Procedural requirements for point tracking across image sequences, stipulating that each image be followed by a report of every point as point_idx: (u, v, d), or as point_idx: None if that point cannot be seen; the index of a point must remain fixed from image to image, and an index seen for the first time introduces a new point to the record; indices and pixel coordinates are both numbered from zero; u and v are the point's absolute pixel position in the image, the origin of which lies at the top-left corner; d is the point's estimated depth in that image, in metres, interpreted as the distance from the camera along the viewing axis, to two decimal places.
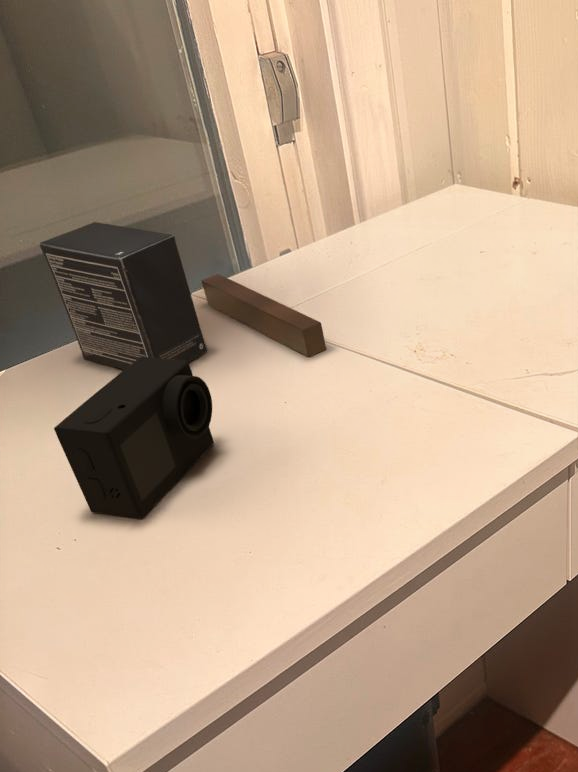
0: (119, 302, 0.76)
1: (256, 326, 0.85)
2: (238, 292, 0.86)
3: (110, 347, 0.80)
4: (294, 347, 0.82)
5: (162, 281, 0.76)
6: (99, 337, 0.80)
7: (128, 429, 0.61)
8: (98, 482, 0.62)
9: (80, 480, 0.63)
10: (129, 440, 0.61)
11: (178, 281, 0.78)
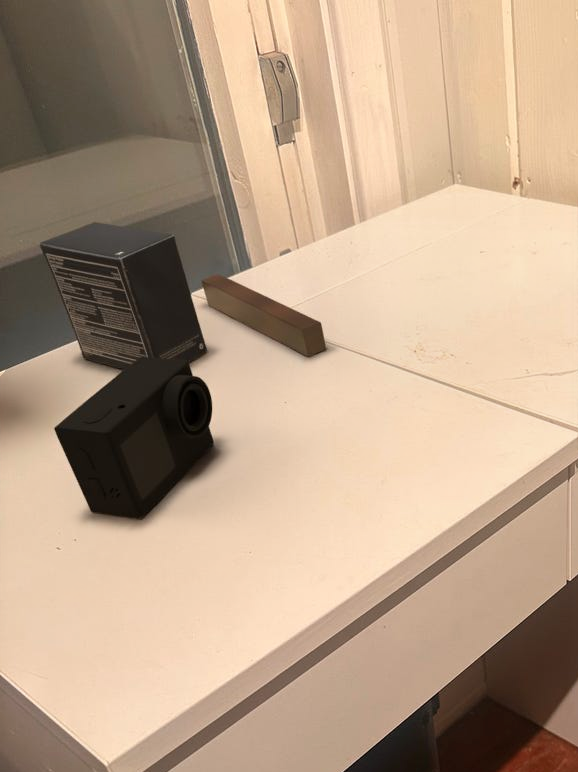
0: (119, 302, 0.76)
1: (256, 326, 0.85)
2: (238, 292, 0.86)
3: (110, 347, 0.80)
4: (294, 347, 0.82)
5: (162, 281, 0.76)
6: (99, 337, 0.80)
7: (128, 429, 0.61)
8: (98, 482, 0.62)
9: (80, 480, 0.63)
10: (129, 440, 0.61)
11: (178, 280, 0.78)
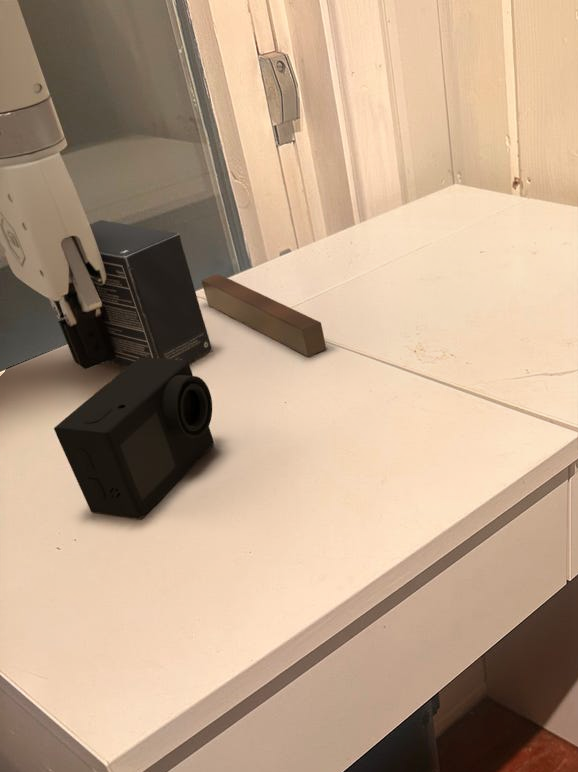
0: (124, 301, 0.76)
1: (256, 326, 0.85)
2: (238, 292, 0.86)
3: (115, 345, 0.81)
4: (294, 347, 0.82)
5: (167, 280, 0.77)
6: None
7: (128, 429, 0.61)
8: (98, 482, 0.62)
9: (80, 480, 0.63)
10: (129, 440, 0.61)
11: (183, 279, 0.78)
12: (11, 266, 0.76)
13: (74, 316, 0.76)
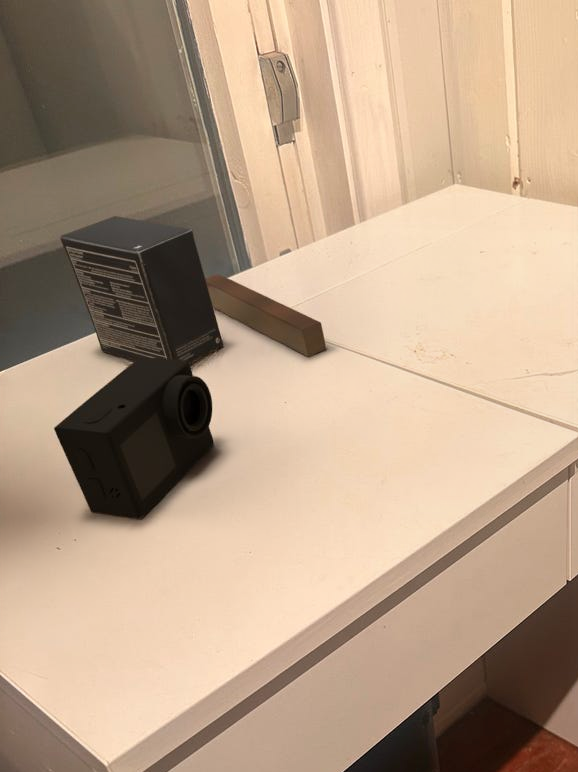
0: (137, 296, 0.77)
1: (256, 326, 0.85)
2: (238, 292, 0.86)
3: (128, 340, 0.81)
4: (294, 347, 0.82)
5: (179, 275, 0.77)
6: (117, 330, 0.81)
7: (128, 429, 0.61)
8: (98, 482, 0.62)
9: (80, 480, 0.63)
10: (129, 440, 0.61)
11: (195, 275, 0.79)
12: None
13: None
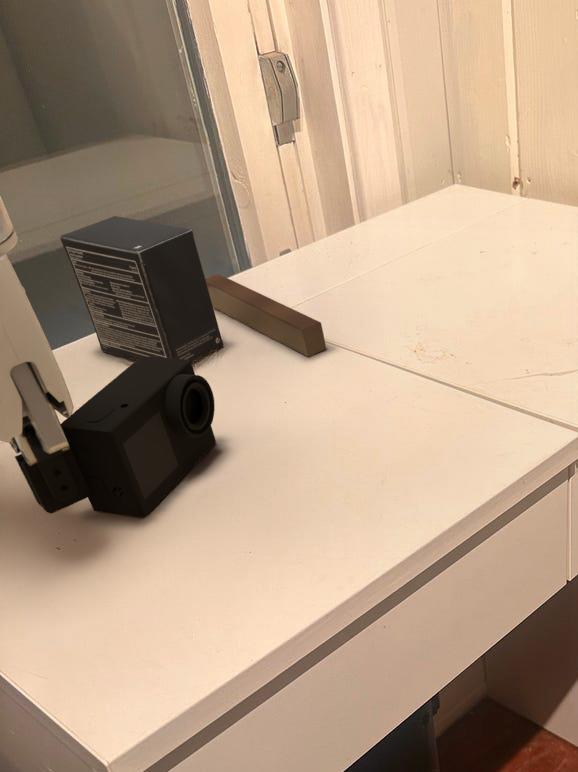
0: (137, 296, 0.77)
1: (256, 326, 0.85)
2: (238, 292, 0.86)
3: (128, 340, 0.81)
4: (294, 347, 0.82)
5: (179, 275, 0.77)
6: (117, 330, 0.81)
7: (131, 428, 0.61)
8: (101, 481, 0.63)
9: None
10: (132, 439, 0.61)
11: (195, 275, 0.79)
12: None
13: (34, 454, 0.59)
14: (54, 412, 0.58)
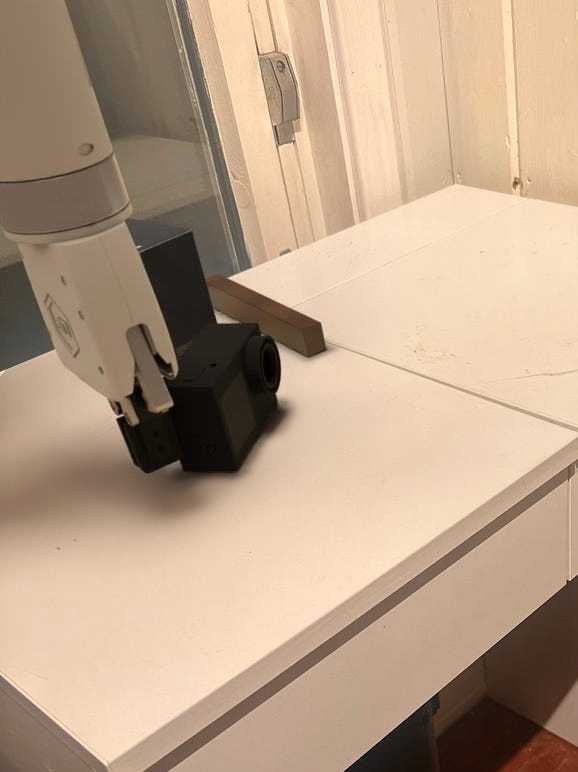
0: None
1: None
2: (238, 292, 0.86)
3: None
4: (294, 347, 0.82)
5: (179, 275, 0.77)
6: None
7: (223, 385, 0.65)
8: (195, 439, 0.66)
9: None
10: (226, 395, 0.65)
11: (195, 275, 0.79)
12: (59, 354, 0.62)
13: (137, 415, 0.62)
14: None
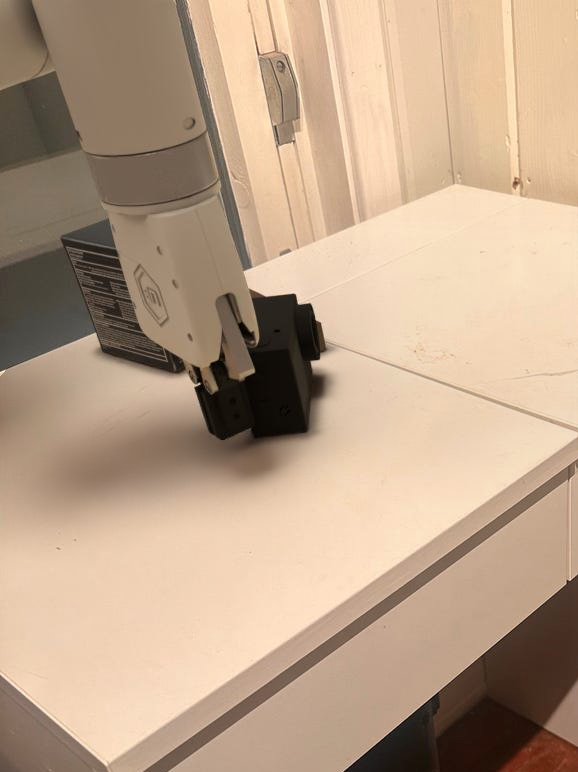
0: None
1: None
2: None
3: (128, 340, 0.81)
4: None
5: None
6: (117, 330, 0.81)
7: (291, 348, 0.68)
8: (268, 403, 0.69)
9: None
10: (294, 358, 0.69)
11: None
12: (142, 324, 0.65)
13: (216, 382, 0.65)
14: None
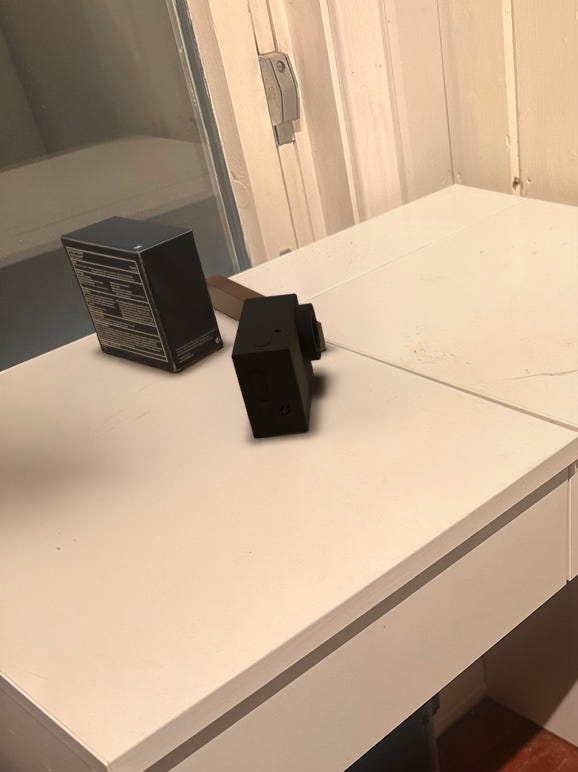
0: (137, 296, 0.77)
1: None
2: (238, 292, 0.86)
3: (128, 340, 0.81)
4: None
5: (179, 275, 0.77)
6: (117, 330, 0.81)
7: (292, 348, 0.68)
8: (269, 403, 0.69)
9: (249, 406, 0.69)
10: (295, 358, 0.69)
11: (195, 275, 0.79)
12: None
13: None
14: None
